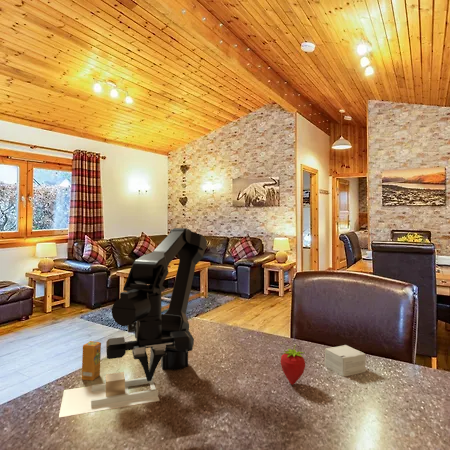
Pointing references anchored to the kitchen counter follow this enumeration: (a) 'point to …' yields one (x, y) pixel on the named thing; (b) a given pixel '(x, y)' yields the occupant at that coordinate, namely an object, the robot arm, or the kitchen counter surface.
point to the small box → (345, 360)
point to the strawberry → (292, 365)
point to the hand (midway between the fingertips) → (149, 380)
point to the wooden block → (115, 384)
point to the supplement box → (91, 360)
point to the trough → (104, 398)
